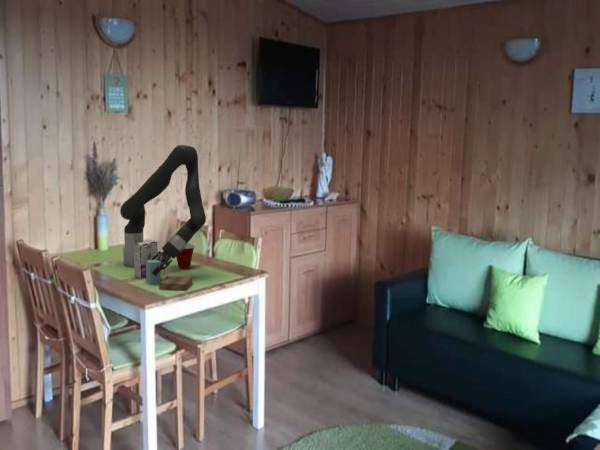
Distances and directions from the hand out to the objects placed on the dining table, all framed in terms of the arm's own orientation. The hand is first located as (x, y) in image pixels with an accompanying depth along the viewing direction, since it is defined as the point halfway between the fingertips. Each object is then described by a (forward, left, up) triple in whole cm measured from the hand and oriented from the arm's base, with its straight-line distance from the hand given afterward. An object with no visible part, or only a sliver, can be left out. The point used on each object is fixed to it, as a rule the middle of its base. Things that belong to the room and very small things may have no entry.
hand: (150, 272), depth 276 cm
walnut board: (+13, -4, -5) cm, 15 cm away
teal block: (+1, +1, -5) cm, 5 cm away
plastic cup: (+8, +30, -5) cm, 31 cm away
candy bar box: (-6, +12, -5) cm, 14 cm away
